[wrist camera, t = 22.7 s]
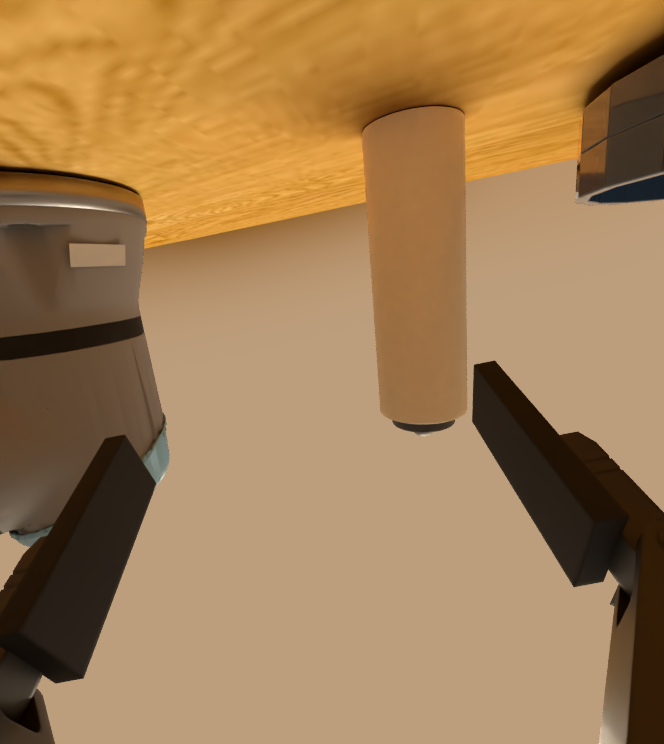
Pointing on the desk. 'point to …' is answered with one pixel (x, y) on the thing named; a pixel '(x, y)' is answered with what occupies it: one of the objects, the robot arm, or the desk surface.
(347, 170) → the desk surface
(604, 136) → the bowl
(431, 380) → the pepper mill
